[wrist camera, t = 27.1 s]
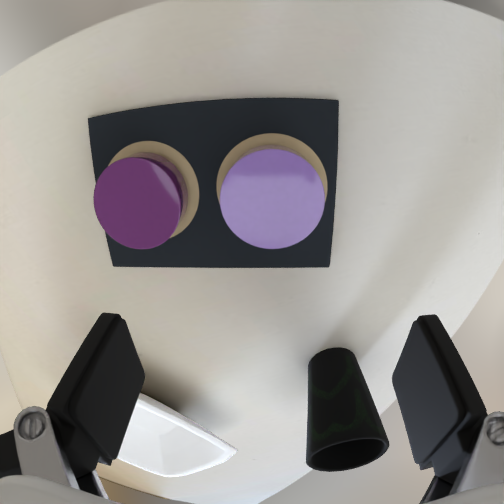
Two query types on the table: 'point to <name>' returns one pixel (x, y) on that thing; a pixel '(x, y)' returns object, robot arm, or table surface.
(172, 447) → the bowl
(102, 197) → the purple short cylinder
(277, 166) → the lavender short cylinder
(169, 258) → the placemat
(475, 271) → the table surface
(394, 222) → the table surface
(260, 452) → the table surface
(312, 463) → the cup
